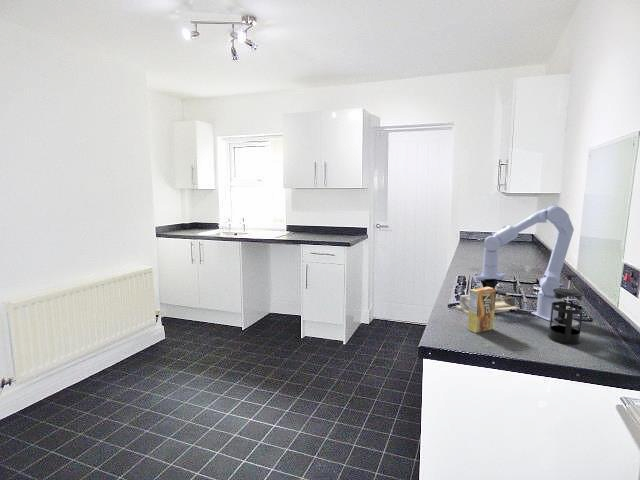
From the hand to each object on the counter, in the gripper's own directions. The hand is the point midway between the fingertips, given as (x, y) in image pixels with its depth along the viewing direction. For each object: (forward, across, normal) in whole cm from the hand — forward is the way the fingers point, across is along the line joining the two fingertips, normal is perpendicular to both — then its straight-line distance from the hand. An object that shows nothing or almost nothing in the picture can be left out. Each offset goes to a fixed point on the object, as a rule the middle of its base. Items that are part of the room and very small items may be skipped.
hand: (488, 296), depth 168 cm
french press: (+6, -4, +34) cm, 35 cm away
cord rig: (+5, 0, 0) cm, 5 cm away
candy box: (+6, +18, +19) cm, 27 cm away
